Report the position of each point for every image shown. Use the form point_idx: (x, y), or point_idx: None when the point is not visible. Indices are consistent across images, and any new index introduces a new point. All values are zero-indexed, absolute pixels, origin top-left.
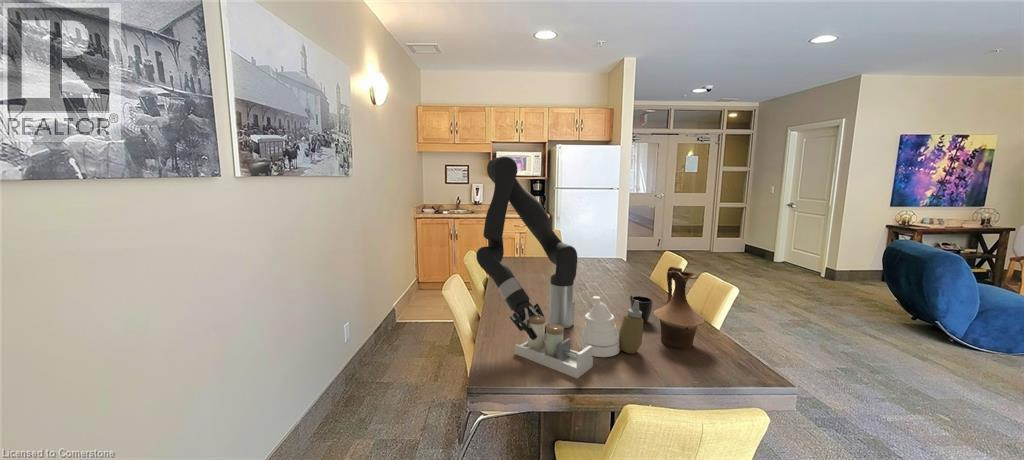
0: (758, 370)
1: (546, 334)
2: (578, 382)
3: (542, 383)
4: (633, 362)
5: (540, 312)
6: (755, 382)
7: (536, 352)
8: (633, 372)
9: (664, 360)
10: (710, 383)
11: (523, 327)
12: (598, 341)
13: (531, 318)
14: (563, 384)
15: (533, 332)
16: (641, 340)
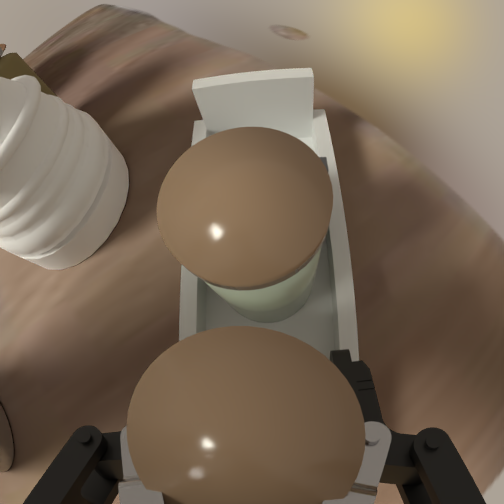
0: (67, 28)
1: (314, 258)
2: (338, 125)
3: (444, 202)
4: (110, 103)
5: (66, 482)
6: (104, 11)
7: (351, 331)
8: (166, 76)
9: (74, 83)
10: (135, 18)
11: (443, 439)
12: (97, 133)
13: (304, 485)
14: (389, 150)
15: (354, 380)
16: None
